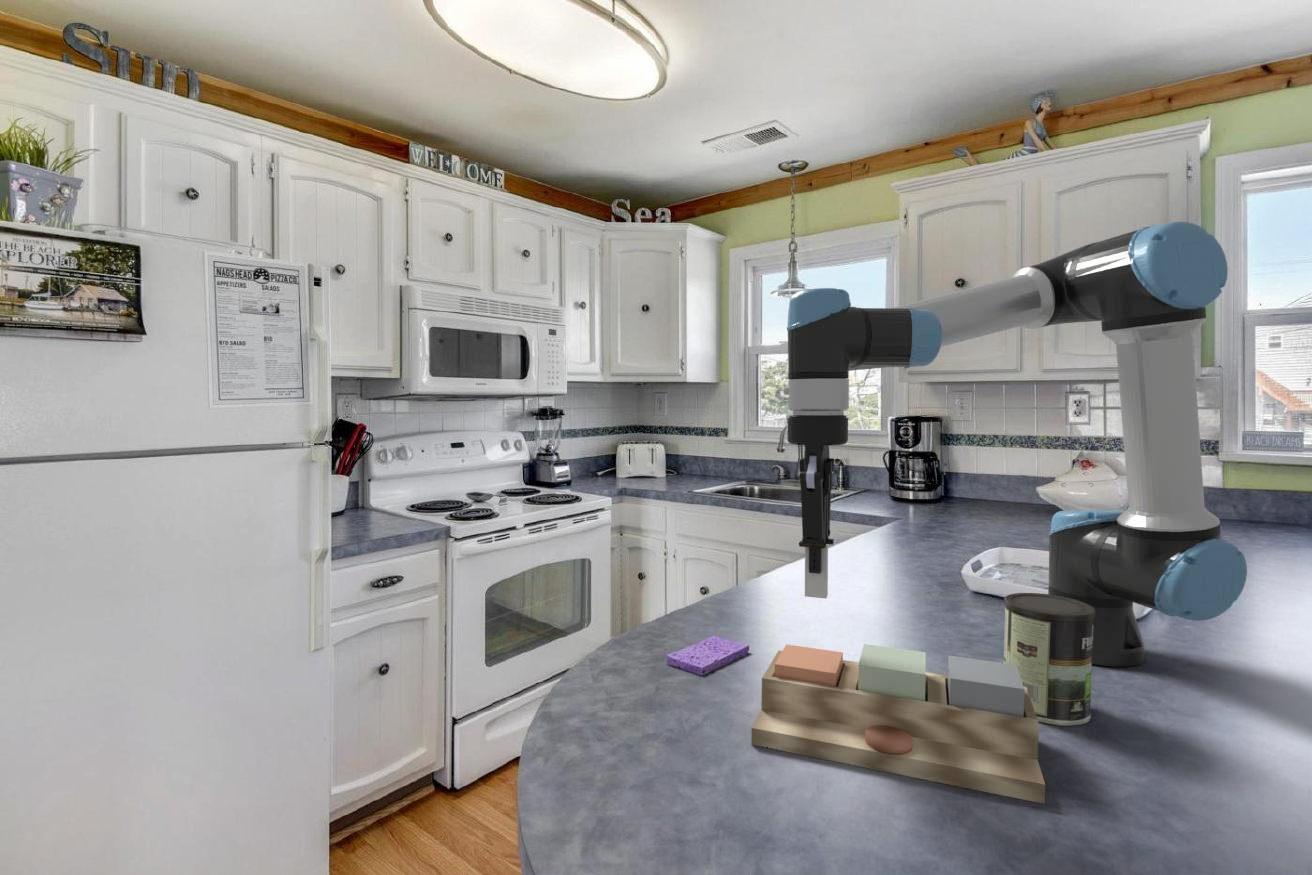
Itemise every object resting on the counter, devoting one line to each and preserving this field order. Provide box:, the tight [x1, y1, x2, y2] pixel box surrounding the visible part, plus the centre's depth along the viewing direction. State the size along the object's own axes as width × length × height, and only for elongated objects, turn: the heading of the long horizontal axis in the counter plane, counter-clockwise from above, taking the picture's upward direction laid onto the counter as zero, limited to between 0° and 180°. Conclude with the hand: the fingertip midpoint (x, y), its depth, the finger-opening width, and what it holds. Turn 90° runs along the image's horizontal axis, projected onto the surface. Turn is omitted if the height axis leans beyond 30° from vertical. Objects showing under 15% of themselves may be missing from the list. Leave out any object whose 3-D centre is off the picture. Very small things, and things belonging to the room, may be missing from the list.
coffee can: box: [1003, 592, 1095, 727], centre depth 88 cm, size 10×10×14 cm
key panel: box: [750, 650, 1046, 805], centre depth 79 cm, size 30×15×6 cm, turn 68°
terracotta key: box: [775, 644, 844, 687], centre depth 85 cm, size 7×7×5 cm
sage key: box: [858, 643, 927, 701], centre depth 82 cm, size 7×7×5 cm
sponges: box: [665, 635, 750, 676], centre depth 105 cm, size 7×13×2 cm, turn 139°
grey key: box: [947, 654, 1025, 717], centre depth 78 cm, size 7×7×5 cm
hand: (816, 595), depth 86 cm, fingers closed
